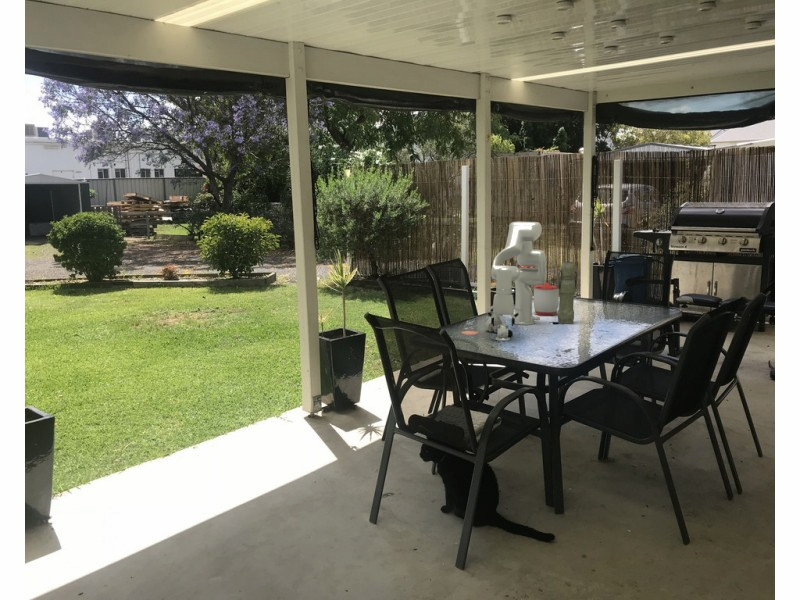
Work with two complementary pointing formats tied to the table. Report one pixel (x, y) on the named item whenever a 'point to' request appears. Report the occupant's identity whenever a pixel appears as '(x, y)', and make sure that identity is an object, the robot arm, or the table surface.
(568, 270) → the stone statue
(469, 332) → the gasket pad
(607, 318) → the table surface
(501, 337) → the pipe coupling
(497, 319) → the mechanical valve
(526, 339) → the table surface
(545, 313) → the citrus juicer
